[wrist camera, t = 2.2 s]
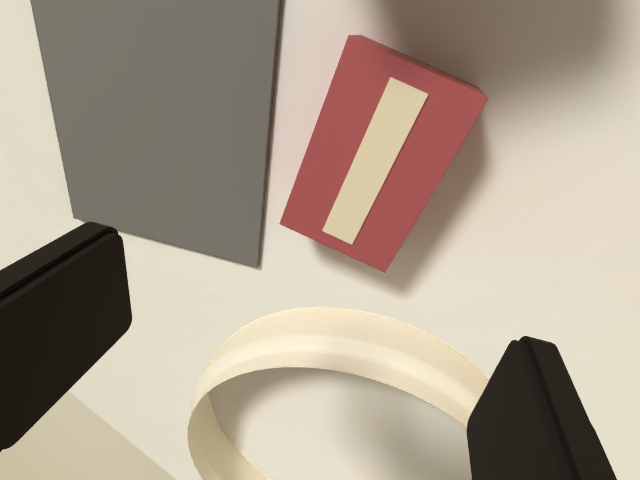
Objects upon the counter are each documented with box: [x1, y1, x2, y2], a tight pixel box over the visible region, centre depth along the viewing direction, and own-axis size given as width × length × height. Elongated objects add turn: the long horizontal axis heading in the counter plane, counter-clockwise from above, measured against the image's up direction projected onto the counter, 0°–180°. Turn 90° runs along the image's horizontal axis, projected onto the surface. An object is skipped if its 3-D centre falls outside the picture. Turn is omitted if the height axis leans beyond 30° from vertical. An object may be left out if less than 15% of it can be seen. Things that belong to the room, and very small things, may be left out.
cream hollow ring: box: [188, 307, 489, 480], centre depth 32 cm, size 27×27×6 cm
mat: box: [30, 0, 281, 267], centre depth 24 cm, size 15×20×1 cm
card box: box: [280, 35, 489, 273], centre depth 20 cm, size 10×6×4 cm, turn 159°
